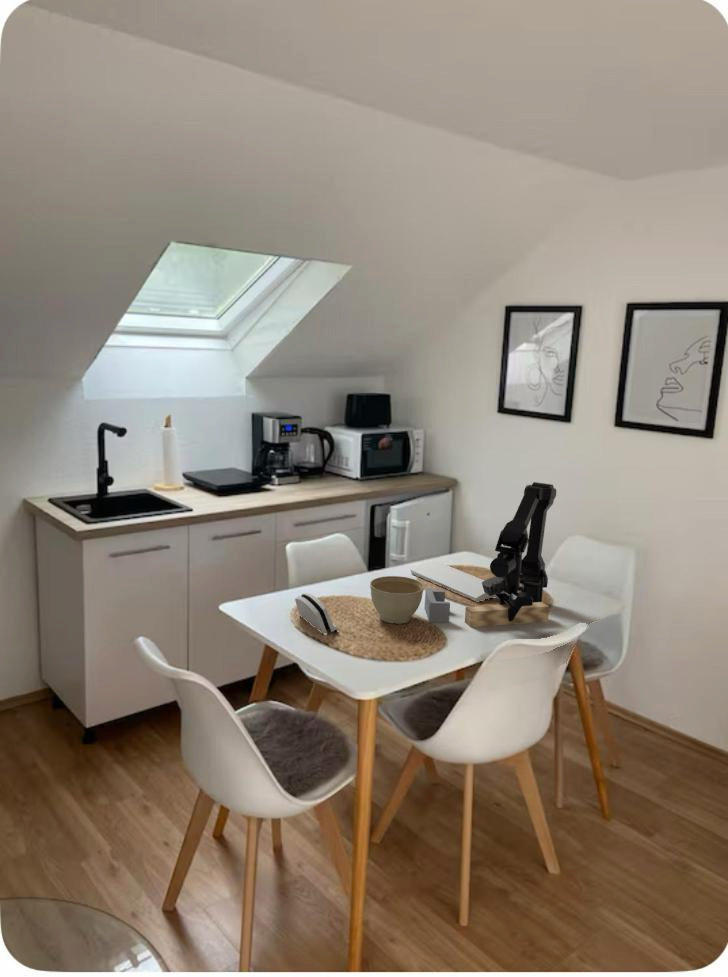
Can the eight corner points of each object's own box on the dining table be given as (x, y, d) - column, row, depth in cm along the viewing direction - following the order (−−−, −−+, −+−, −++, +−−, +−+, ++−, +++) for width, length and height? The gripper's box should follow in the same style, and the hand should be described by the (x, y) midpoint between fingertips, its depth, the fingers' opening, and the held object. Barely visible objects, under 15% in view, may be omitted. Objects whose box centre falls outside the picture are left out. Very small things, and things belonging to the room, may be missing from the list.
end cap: (443, 608, 237) (444, 590, 236) (448, 622, 225) (450, 603, 224) (424, 607, 237) (425, 589, 236) (429, 621, 225) (430, 602, 224)
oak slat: (541, 617, 234) (542, 601, 233) (547, 621, 230) (549, 606, 229) (464, 622, 226) (465, 607, 225) (470, 627, 223) (471, 611, 222)
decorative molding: (477, 611, 245) (499, 598, 250) (475, 598, 243) (497, 585, 248) (412, 581, 272) (433, 570, 277) (410, 569, 270) (431, 559, 275)
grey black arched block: (339, 632, 214) (330, 603, 210) (325, 640, 212) (315, 610, 208) (314, 613, 228) (305, 585, 225) (301, 620, 226) (291, 592, 223)
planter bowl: (360, 623, 222) (362, 588, 220) (378, 606, 237) (380, 573, 235) (413, 632, 217) (415, 596, 214) (428, 614, 231) (430, 580, 229)
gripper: (473, 561, 231) (469, 609, 234) (501, 580, 214) (497, 632, 217) (505, 559, 235) (501, 607, 238) (536, 578, 217) (531, 629, 220)
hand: (506, 618), depth 228 cm, fingers closed on oak slat, 4 cm apart
